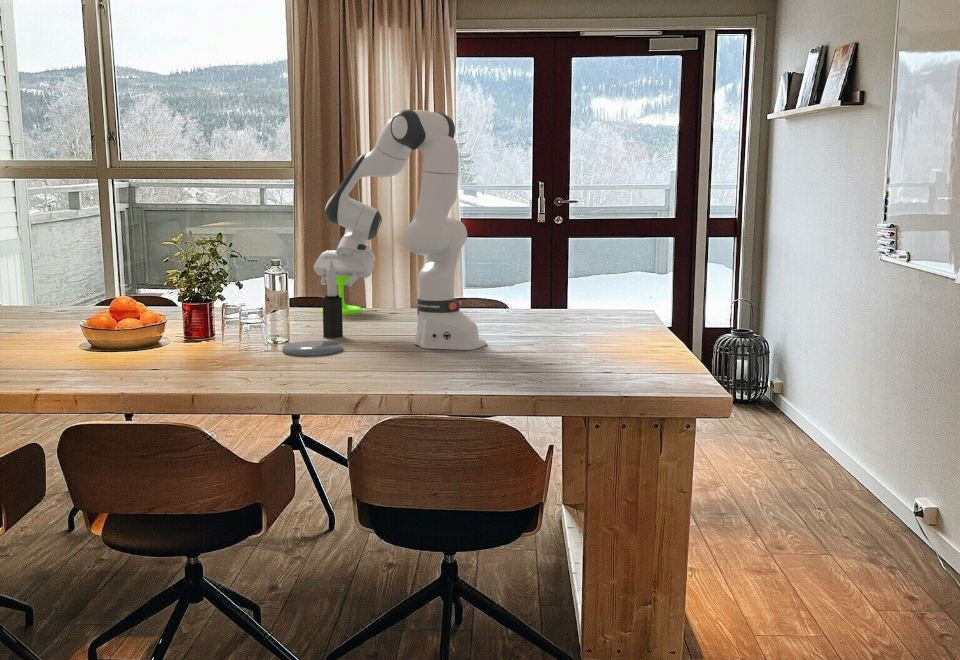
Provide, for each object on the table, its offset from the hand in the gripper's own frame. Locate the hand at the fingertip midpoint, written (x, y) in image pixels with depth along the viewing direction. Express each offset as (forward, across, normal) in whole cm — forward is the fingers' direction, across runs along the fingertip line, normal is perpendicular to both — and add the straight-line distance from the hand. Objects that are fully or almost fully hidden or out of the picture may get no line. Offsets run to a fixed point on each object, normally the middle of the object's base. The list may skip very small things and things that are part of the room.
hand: (335, 284), depth 300 cm
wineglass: (-19, -24, +44) cm, 53 cm away
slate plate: (+29, +6, -6) cm, 30 cm away
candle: (+14, 0, +10) cm, 17 cm away
